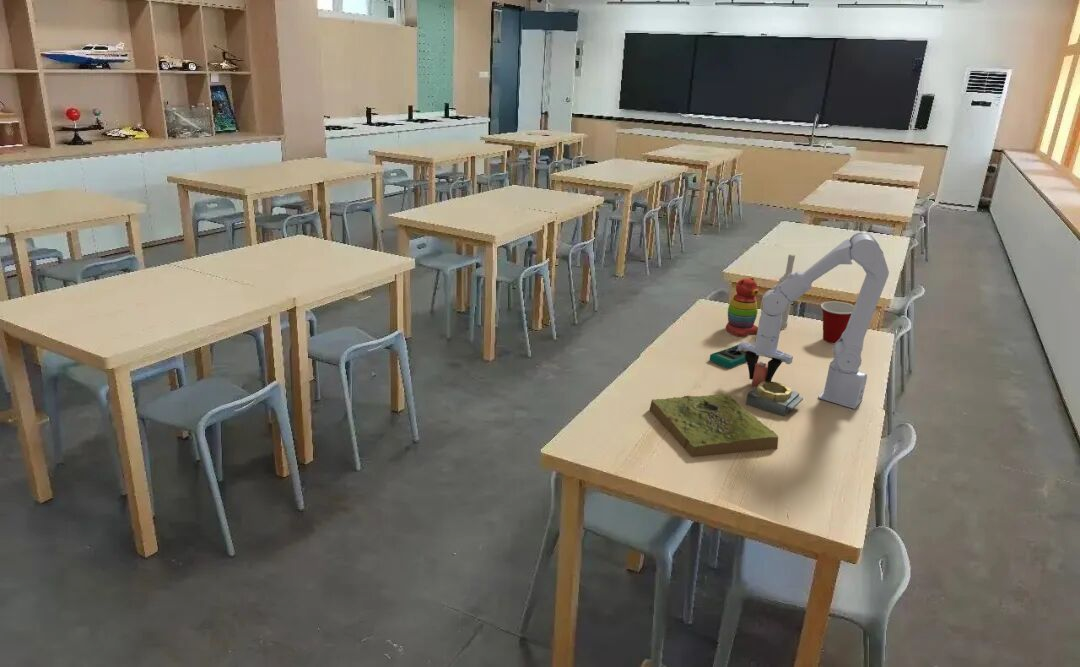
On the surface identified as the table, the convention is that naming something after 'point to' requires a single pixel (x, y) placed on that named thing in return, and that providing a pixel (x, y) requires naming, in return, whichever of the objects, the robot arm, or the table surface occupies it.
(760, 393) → the stone well model
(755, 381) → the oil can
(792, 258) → the bottle
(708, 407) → the miniature landscape model
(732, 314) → the stacking bear
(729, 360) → the digital multimeter
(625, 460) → the table surface
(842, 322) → the plastic cup
